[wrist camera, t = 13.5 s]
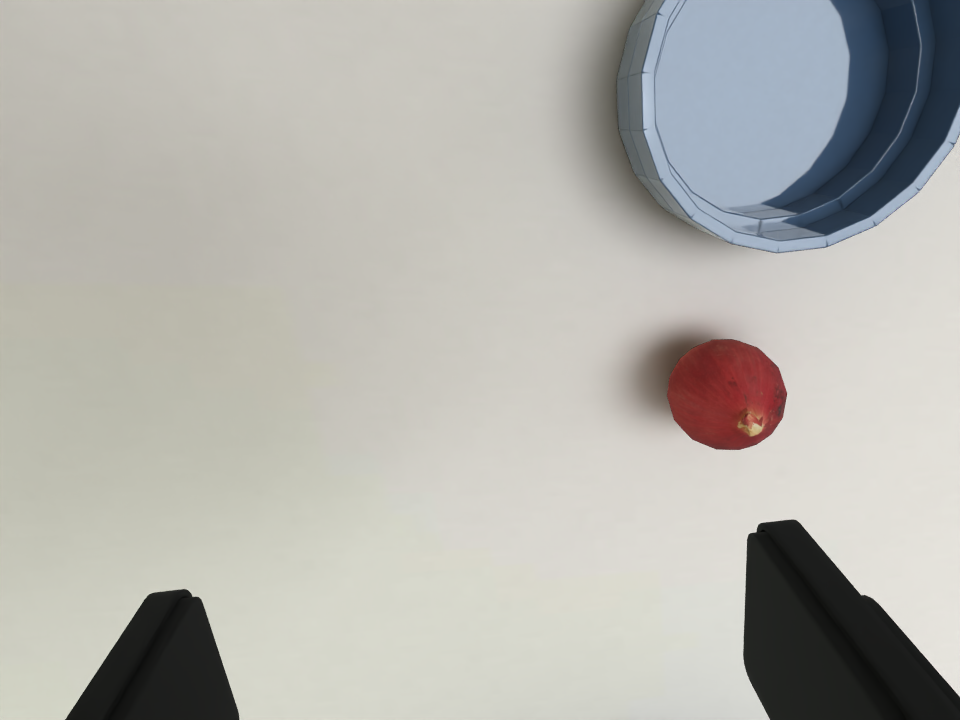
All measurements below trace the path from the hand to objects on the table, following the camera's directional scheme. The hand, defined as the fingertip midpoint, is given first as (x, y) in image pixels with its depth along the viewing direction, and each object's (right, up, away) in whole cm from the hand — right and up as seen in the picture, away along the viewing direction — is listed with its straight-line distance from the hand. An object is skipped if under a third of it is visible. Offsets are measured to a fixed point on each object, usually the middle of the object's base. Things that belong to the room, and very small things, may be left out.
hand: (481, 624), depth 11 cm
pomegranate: (+13, +4, +27) cm, 30 cm away
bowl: (+14, +18, +22) cm, 32 cm away
